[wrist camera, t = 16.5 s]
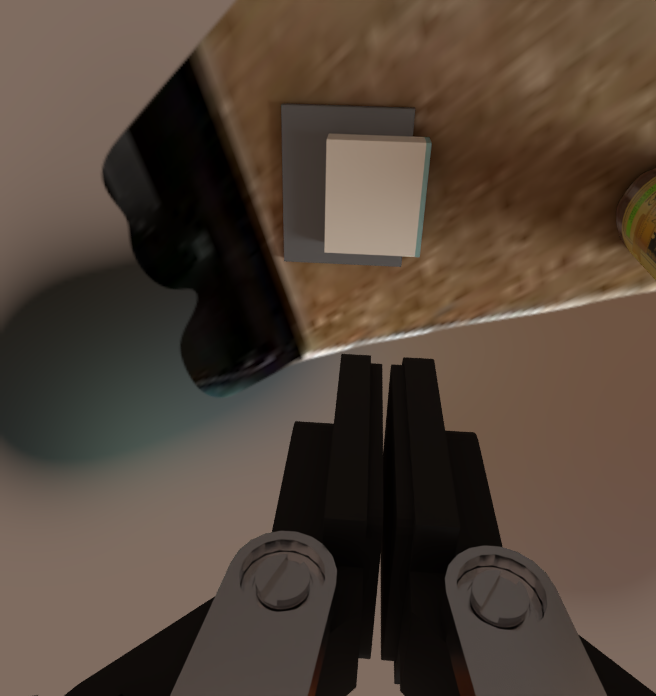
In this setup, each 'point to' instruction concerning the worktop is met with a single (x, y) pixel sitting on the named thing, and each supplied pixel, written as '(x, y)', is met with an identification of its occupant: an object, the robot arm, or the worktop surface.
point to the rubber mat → (310, 172)
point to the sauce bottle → (640, 220)
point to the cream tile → (375, 194)
